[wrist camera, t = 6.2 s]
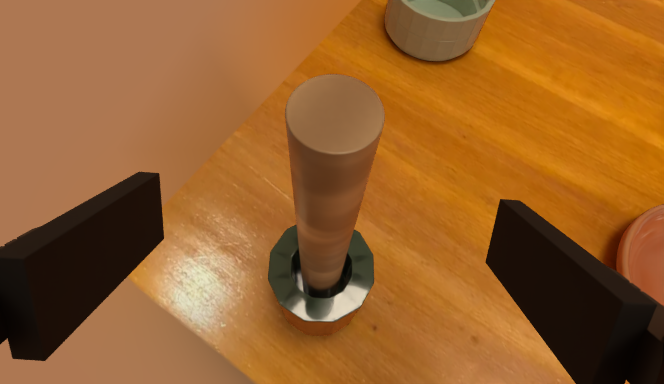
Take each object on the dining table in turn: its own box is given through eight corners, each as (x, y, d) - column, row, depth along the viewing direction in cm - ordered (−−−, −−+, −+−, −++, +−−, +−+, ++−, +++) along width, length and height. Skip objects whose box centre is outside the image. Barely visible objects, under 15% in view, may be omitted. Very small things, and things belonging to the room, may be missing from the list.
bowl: (367, 38, 45) (374, -7, 40) (408, -13, 50) (419, -60, 44) (452, 79, 43) (472, 36, 38) (487, 21, 48) (510, -24, 42)
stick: (297, 298, 31) (264, 123, 10) (314, 271, 32) (319, 59, 11) (324, 315, 31) (354, 171, 9) (340, 287, 32) (402, 100, 10)
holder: (263, 307, 31) (247, 283, 23) (307, 242, 34) (306, 200, 26) (332, 352, 30) (339, 344, 22) (372, 281, 33) (391, 250, 25)
